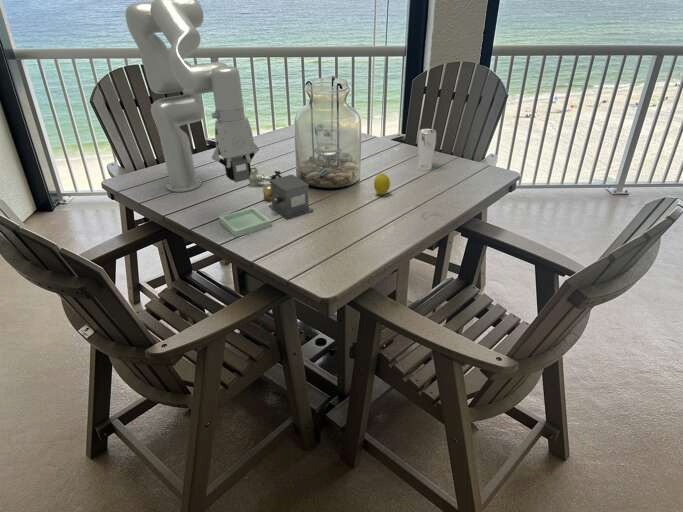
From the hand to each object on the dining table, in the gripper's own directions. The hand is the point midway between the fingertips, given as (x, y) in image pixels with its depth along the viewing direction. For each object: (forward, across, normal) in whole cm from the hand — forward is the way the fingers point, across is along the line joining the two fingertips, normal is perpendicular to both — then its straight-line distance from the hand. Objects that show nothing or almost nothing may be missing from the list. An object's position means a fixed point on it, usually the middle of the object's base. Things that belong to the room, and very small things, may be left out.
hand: (239, 176), depth 134 cm
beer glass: (+16, +80, +2) cm, 82 cm away
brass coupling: (+16, +15, +12) cm, 25 cm away
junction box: (+16, +17, +1) cm, 23 cm away
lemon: (+16, +49, -8) cm, 52 cm away
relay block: (+1, 0, 0) cm, 1 cm away
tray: (+16, 0, 0) cm, 16 cm away
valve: (+16, +19, +24) cm, 34 cm away
